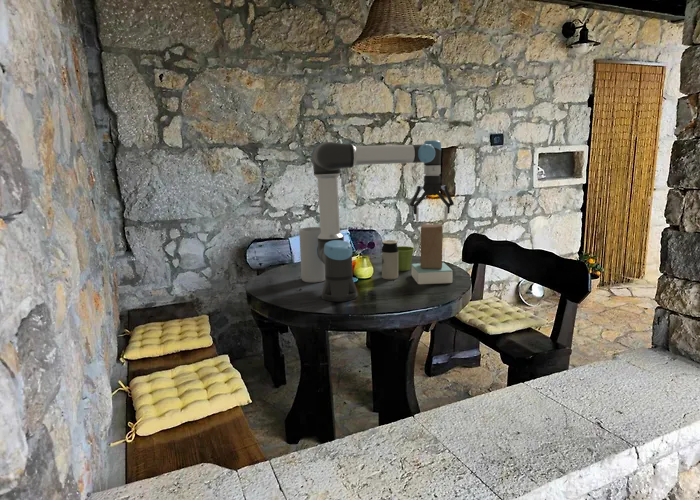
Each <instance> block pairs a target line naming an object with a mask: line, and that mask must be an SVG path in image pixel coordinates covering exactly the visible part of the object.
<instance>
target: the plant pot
mask: <svg viewBox="0 0 700 500" xmlns="http://www.w3.org/2000/svg"><path fill="white" fill-rule="evenodd" d="M397 247H398V272H405V271H410V270H411V268H412V261H413V260H412V259H413V254H414V250H415V247H412V246H404V245H403V246H397Z"/></svg>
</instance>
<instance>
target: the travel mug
mask: <svg viewBox="0 0 700 500" xmlns="http://www.w3.org/2000/svg"><path fill="white" fill-rule="evenodd" d="M381 242H382V247H381V278H383V279H385V280H396V279H398V278H399V270H398V247H399V246H398V241H397V240H396V239H395V240H393V239H386V240H381Z"/></svg>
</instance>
